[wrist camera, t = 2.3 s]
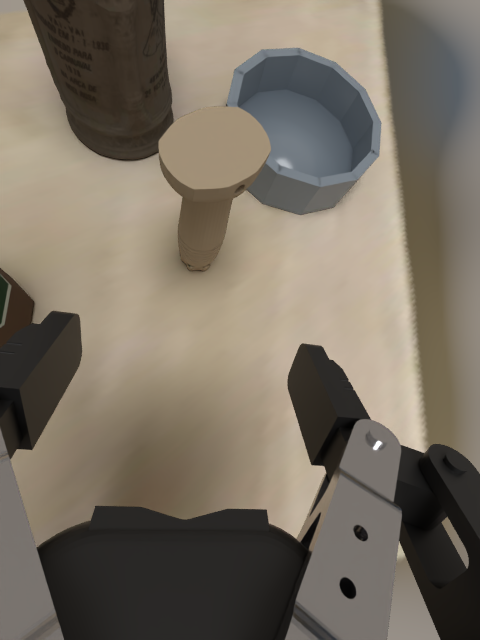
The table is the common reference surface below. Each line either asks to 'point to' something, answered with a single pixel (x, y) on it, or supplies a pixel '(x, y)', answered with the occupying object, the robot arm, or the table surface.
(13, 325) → the beer bottle
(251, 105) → the bowl
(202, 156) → the handle
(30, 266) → the table surface
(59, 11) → the beer stein
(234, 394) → the table surface
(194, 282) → the table surface
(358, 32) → the table surface
